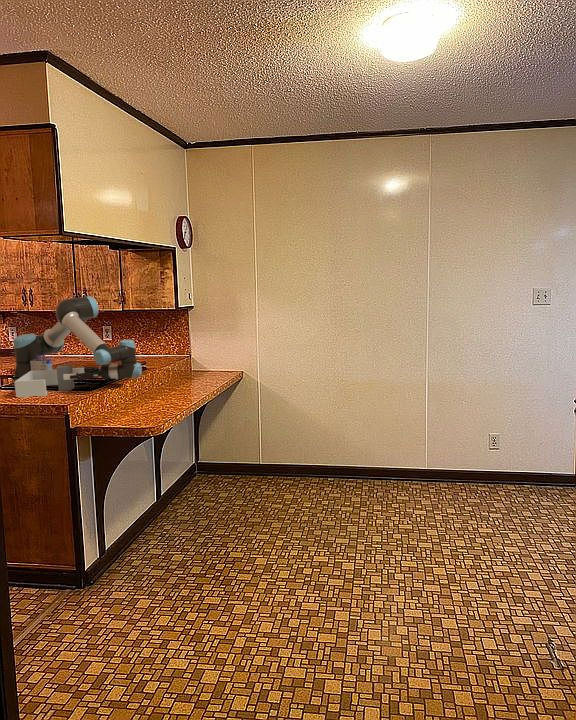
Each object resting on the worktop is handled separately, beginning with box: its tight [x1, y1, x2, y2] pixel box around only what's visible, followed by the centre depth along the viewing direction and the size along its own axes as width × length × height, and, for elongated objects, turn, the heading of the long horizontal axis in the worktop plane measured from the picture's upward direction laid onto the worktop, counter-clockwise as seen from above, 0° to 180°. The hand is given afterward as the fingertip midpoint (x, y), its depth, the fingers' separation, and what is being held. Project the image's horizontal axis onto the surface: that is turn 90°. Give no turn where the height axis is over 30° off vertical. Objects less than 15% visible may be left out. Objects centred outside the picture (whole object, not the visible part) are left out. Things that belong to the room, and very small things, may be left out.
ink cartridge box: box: [30, 355, 54, 371], centre depth 334 cm, size 10×6×14 cm, turn 78°
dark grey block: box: [55, 364, 75, 392], centre depth 316 cm, size 6×6×12 cm
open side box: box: [14, 368, 58, 398], centre depth 316 cm, size 24×14×8 cm, turn 4°
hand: (67, 373), depth 315 cm, fingers open, 13 cm apart
